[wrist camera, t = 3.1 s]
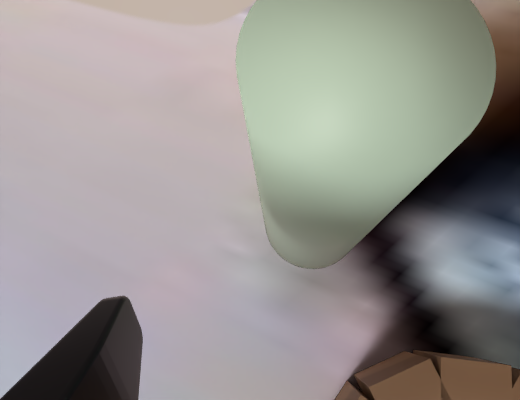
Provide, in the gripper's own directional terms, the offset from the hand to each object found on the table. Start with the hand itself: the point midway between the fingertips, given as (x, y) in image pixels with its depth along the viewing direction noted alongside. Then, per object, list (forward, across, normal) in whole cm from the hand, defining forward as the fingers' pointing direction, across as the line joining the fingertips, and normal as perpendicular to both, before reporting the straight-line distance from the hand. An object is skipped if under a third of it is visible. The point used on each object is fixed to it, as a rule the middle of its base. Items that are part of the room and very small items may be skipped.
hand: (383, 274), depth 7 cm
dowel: (+10, 0, +5) cm, 11 cm away
